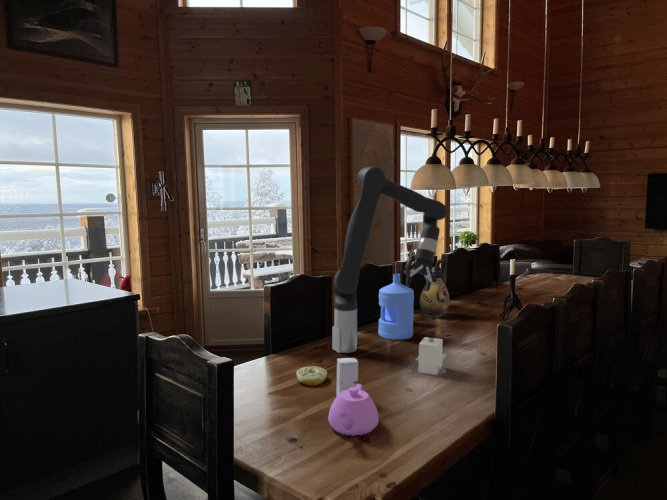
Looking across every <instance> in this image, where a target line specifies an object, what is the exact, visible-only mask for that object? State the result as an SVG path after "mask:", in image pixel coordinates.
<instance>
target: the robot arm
mask: <svg viewBox="0 0 667 500" xmlns="http://www.w3.org/2000/svg"><path fill="white" fill-rule="evenodd" d="M357 182H358V183H359V186H360V187H361V192H360V197H359V200H358V203H357V205H356V206H355V208H354V210H353V211H352V214H351V217H350V219H349V222H348V224H347V230H346V233H345V239H344V249H343V250H344V251H343V258H342V262H341V266H340V268H339V270H338V271H337V272H336V273H335V274H334V279H333V302H334V306H333V307H334V308H333V309H334V313H333V314H334V316H333V317H334V320H333V322H334V325H333V326H332V327H331V328H332V331H331V332H332V337H331V338H332V350H333V351H336V352H337V353H339V354H341V353H343V354H344V353H345V354H348V353H354V352H356V351H357V349H358V348H357V346H358V298H357V297H358V296H357V288H358V286H359V279H360V272H361V265H362V261H363V258H364V255H365V253H366V249H367V246H368V243H369V239H370V235H371V232H372V228H373V223H374V219H375V215H376V210H377V206H378V202H379V200H380V197H381V194H382V195H384V196H386V197H388V198H390V199H391V200H394V201H396V202H398V203H400V204H401V205H403V206H405V207H406V208H409V209H410V210H412V211H415V212H418V213H423V214H422V230H421V234H420V238H419V241H418V243H417V244H418V245H417V248H416V252H415V255H414V256H415V257H414V260H412V259H407V260H406V262H405V266H404V270H403V274H405V276H406V280H405V286H406V287H410V286H411V284H412V280H413V276H414V275H415V274H420V275H422V276H424V278H425V280H426V281H425V285H424V287H425V289H424V291H428V290H430V286H431V283H432V282H436V281H437V275H438V268H434V267H432V263H434V261H435V257H436V256H435V255H436V251H437V246H438V241H439V236H440V231H441V230H440V227H438V221H441V220H443V219H445V218H447V216H448V208H447V206H446V205H445V204H444V203H443V202H441V201H439V200H436V199H433V198H430V197H427V196H424V195H423V194H422V193H419V192H417V191H415V190H413V189H411V188H408V187H405V186H403V185H401V184H399V183H397V182H396V183H395V182H394V181H392V180H390V179H389V178H386V175H385V171H384V170H383V169H382V168H381V167H380V166H375V165H374V166H372V165H371V166H365V167H363V168H362V169H360V171H359V172H358V175H357ZM412 266H413V267H412ZM411 267H412V268H411ZM431 270H432V271H431Z"/></svg>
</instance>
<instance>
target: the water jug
mask: <svg viewBox="0 0 667 500" xmlns="http://www.w3.org/2000/svg"><path fill="white" fill-rule="evenodd" d="M392 275H393V276H392V277H393V278H392V281H393V282H392V283H390V284H388V285H385V286H383V287H381V288H380V289H379V291H378V300H379V301H378V305H379V306H380V318H379V319H378V329H377V330H378V331H377V332H378V335H379V337H381V338H383V339H386V340H393V341H394V340H395V341H396V340H397V341H398V340H409V339H411V338H412V337H413V336H414V314H415V313H414V300H415V295H414V290H413V289H412V288H410V287H409V286H406V285H404V284H402V283H401V274H400V273H393V274H392Z"/></svg>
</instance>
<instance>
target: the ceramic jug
mask: <svg viewBox="0 0 667 500" xmlns="http://www.w3.org/2000/svg"><path fill="white" fill-rule="evenodd" d="M440 264H441V265H440ZM432 267H434V268H438V275H437V281H436V282H432V283H431V286H430V290H428V291H424V289H425V286H424V287H423V289H422V291H421V293H420V296H419V305H420V308H421V309H422V312H424V314H423V315H424V316H425V317H429V318H441V317H443V315H444V313H445V312H446V311H447V310H448V308H449V306H450V293H449V291H448V288H447V287H446V284H445V283H444V281H443V276H444V272H445V269H446V260H445V259H443V258H440V259H437V260H436V262H435V263H434V262H433V263H432ZM430 272H432V270H431V271H430Z"/></svg>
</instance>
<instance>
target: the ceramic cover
mask: <svg viewBox="0 0 667 500" xmlns="http://www.w3.org/2000/svg"><path fill="white" fill-rule="evenodd" d="M443 342H444V340H443V338H436V337H428V336H427V337H426V336H425V337H423V338H422V340H421V341H420V342H419V343H418V356H419V361H418V366H419V367H418V372H417V373H418V374H420V373H425V374H432V375H436V376H438V375H437V374H438V373H439V371H440V369H441V368H443V362H442V354H443Z"/></svg>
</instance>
